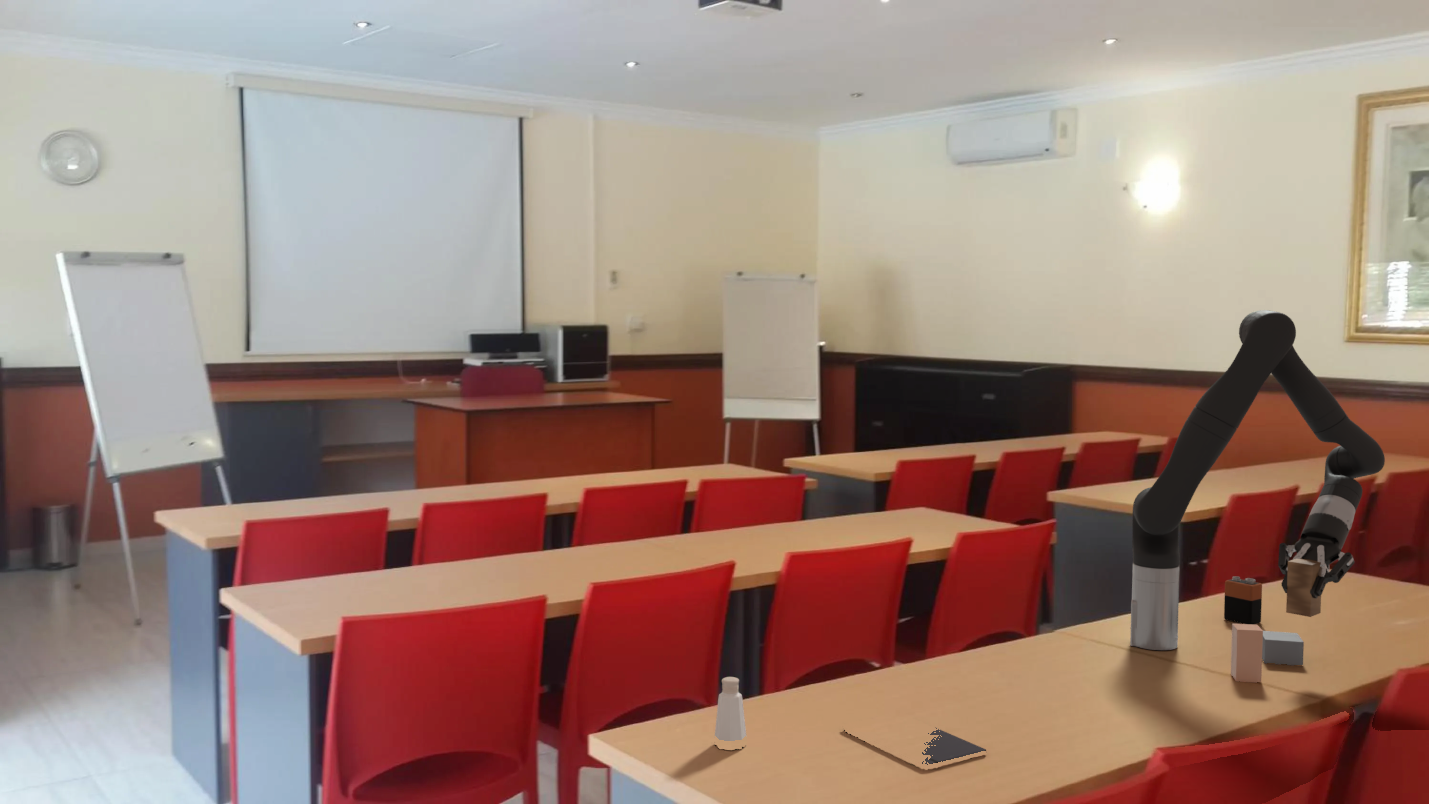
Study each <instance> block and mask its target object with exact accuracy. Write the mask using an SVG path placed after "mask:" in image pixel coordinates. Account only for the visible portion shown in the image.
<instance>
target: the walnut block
mask: <svg viewBox="0 0 1429 804" xmlns="http://www.w3.org/2000/svg"><path fill="white" fill-rule="evenodd" d="M1320 563H1321V562H1318V561H1314V560H1307V559H1294V560H1293V559H1289V561H1288V574H1287V593H1286V608H1285V609H1286V610H1285V613H1288V614H1292V615H1298V616H1304V617H1307V618H1312V617H1314V616H1317V615H1320V614H1321V611H1322V610H1321V609H1322V595H1321V596H1318V597H1317V599H1316V598H1313V597H1312V595H1311V594H1310V590H1311V589H1312V586H1313V584H1314V582H1315V579H1316V577H1318V576H1319V575H1318V571H1319V569H1320Z"/></svg>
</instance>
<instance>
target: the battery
mask: <svg viewBox="0 0 1429 804" xmlns="http://www.w3.org/2000/svg"><path fill="white" fill-rule="evenodd" d="M1262 599H1263V584H1262V583H1261V582H1256V579H1255V578H1250V577H1247V578H1245V579H1242V578H1241V577H1240V576H1232V578H1231V579H1227V580H1225V582H1224V602H1223V603H1224V605H1223V619H1224V620H1226V621H1231V622H1234V623H1237V624H1242V623H1243V624H1253V625H1258V624H1260V623H1262V606H1263V605H1262V603H1263V600H1262Z"/></svg>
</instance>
